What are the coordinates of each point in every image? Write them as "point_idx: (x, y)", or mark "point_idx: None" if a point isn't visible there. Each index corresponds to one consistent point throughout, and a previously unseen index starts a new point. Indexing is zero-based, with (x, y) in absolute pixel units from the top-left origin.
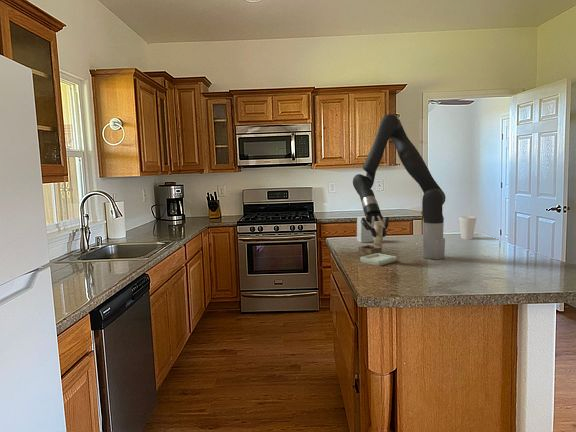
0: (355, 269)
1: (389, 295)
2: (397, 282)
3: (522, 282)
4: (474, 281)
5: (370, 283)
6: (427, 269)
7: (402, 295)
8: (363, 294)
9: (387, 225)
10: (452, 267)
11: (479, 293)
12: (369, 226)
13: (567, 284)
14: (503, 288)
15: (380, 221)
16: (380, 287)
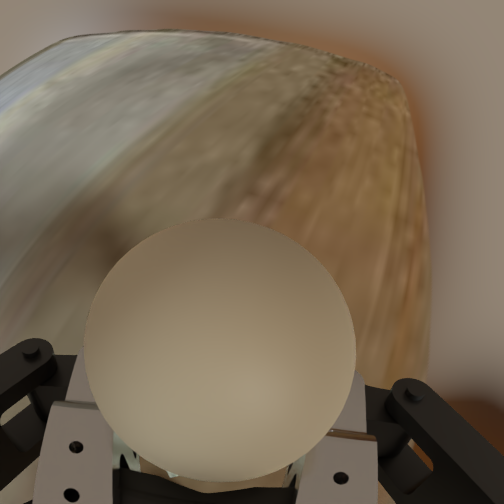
0: (396, 258)
1: (350, 64)
2: (300, 96)
3: (52, 65)
4: (113, 69)
5: (374, 116)
6: (107, 165)
7: (325, 56)
8: (397, 85)
9: (26, 345)
10: (26, 169)
11: (177, 34)
12: (400, 391)
13: (22, 62)
14: (114, 44)
15: (130, 370)
16: (356, 91)
